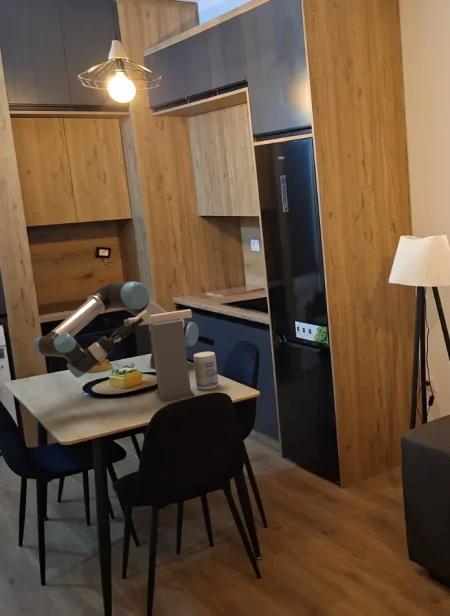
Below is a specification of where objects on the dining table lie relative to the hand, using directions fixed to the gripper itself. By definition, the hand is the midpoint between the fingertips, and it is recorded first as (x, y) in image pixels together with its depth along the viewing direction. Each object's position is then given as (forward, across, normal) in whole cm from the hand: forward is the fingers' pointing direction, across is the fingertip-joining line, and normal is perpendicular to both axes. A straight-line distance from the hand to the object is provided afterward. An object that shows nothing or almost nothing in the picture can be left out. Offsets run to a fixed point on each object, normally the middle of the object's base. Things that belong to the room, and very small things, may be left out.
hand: (148, 312), depth 266 cm
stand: (-12, 0, -35) cm, 37 cm away
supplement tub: (+1, -2, -43) cm, 43 cm away
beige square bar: (+2, 0, -6) cm, 6 cm away
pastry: (-37, -66, -21) cm, 78 cm away
